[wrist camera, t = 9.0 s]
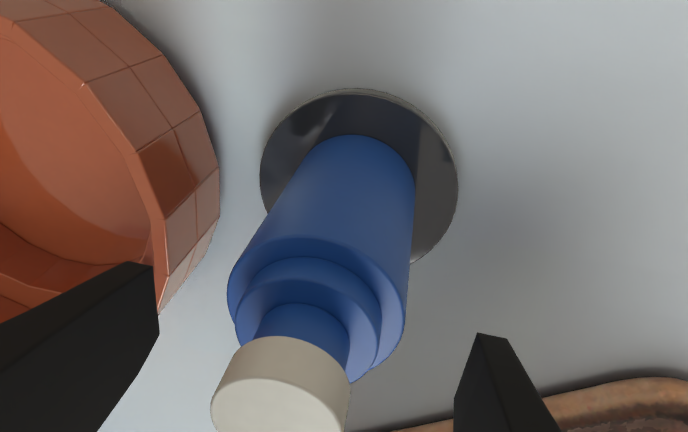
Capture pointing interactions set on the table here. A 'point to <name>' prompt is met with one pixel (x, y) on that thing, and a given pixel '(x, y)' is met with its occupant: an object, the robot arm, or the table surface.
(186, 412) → the table surface
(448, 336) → the table surface
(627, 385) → the case
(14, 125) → the bowl
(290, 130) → the coaster
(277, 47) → the table surface
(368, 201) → the bottle
